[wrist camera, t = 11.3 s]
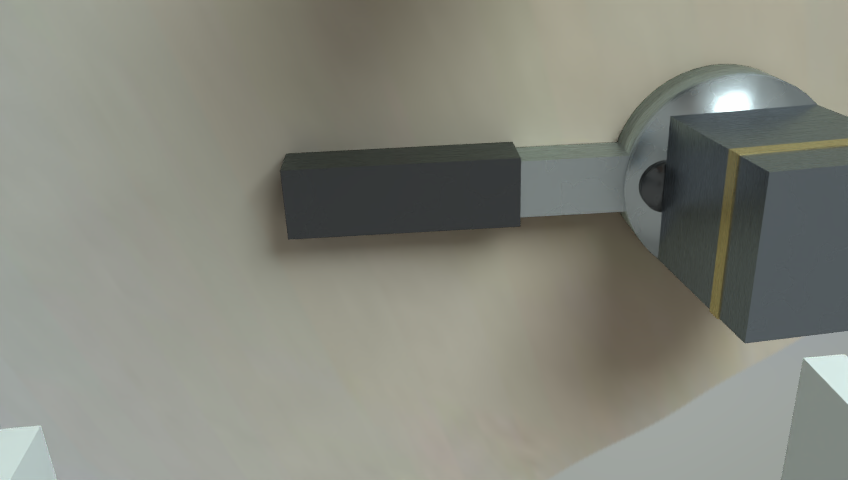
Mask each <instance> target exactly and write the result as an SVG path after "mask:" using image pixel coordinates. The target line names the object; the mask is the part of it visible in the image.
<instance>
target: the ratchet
mask: <svg viewBox="0 0 848 480" xmlns="http://www.w3.org/2000/svg"><path fill="white" fill-rule="evenodd" d="M814 104H816V103H815V102H814V101H813V100H812V99H811V98H810V97H809V96H808V95H807V94H806V93H804V92H803V91H801V90H800V89H799V88H797V87H795V86H793V85H791V84H789V83H787V82H785V81H783V80H781V79H779V78H776V77H774V76H772V75H770V74H768V73H765V72H763V71H761V70H758V69H755V68H752V67H749V66H743V65H736V64H717V65H709V66H704V67H700V68H696V69H693V70H690V71H688V72H685V73H682V74H680V75H678V76H676V77H674V78H673V79H671V80H669V81H667V82H666V83H664V84H663V85H661V86H660V87H658V88H657V89H656V90H655V91H654V92H652V93H651V94H650V95H649V96H648V97H647V98H646V99H645V100H644V101H643V102H642V103H641V104H640V105H639V106H638V107H637V108H636V110H635V111H634V113H633V114H632V115H631V117H630V118H629V120H628V121H627V123H626V125H625V127H624V128H623V130H622V132H621V135H620V137H619V140H618V142H612V143H593V144H574V145H555V146H536V147H517V148H515V146H514V144H513V142H500V143H481V144H462V145H443V146H424V147H405V148H386V149H367V150H347V151H328V152H309V153H290V154H286V156H285V159H284V162H283V165H282V167H281V170H280V173H281V181H282V190H283V198H284V207H285V216H286V224H287V233H288V239H304V238H322V237H340V236H358V235H376V234H394V233H411V232H429V231H447V230H465V229H483V228H501V227H519V226H520V217H536V216H554V215H572V214H590V213H608V212H621V215H622V216H623V218H624V219H625V221H626V222H627V224H628V225H629V226H630V228H631V229H632V230H633V232H634V233H635V234H636V236H637V237H638V238H639V240H640V241H641V242H642V244H643V245H644V246H645V247H646V248H647V249H648V250H649V251H650V252H651V253H652V254H653V255H654V256H656V257H657V258H658V250H659V239H660V228H661V216H662V205H663V194H664V182H665V171H666V160H667V149H668V137H669V126H670V116H678V115H690V114H702V113H715V112H727V111H739V110H752V109H764V108H776V107H789V106H801V105H814ZM816 105H817V104H816Z"/></svg>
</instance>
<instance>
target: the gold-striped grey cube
mask: <svg viewBox="0 0 848 480" xmlns="http://www.w3.org/2000/svg"><path fill="white" fill-rule="evenodd" d="M658 259H659V260H660V261H661V262H662V263H663V264H664V265H665V266H666V267H667V268H668V269H669V270H670V271H671V272H672V273H673V274H674V275H675V276H676V277H677V278H678V279H679V280H680V281H681V282H682V283H683V284H684V285H685V286H686V287H687V288H689V289H690V290H691V291H692V292H693V293H694V294H695V295H696V296H697V297H698V298H699V299H700V300H701V301H702V302H703V303H704V304H705V305H706V306H707V307H708V308H709V309H710V312H711V313H712V314H713V315H714V316H715V317H716V318H717V319H720V320H721V321H722V322H724V323H725V324H726V325H727V326H728V327H729V328H730V329H731V330H732V331H733V332H734V333H735V334H736V335H737V336H738V337H739V338H740V339H741V340H742V341H743V342H744V343H751V342H760V341H768V340H776V339H784V338H793V337H801V336H809V335H817V334H826V333H833V332H842V331H848V117H847V116H844V115H842V114H839V113H837V112H834V111H832V110H829V109H826V108H824V107H821V106H819V105H816V104H814V105H801V106H789V107H776V108H764V109H752V110H739V111H727V112H715V113H702V114H690V115H678V116H670V126H669V137H668V149H667V160H666V171H665V182H664V194H663V205H662V216H661V228H660V239H659V250H658Z"/></svg>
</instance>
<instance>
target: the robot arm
mask: <svg viewBox="0 0 848 480" xmlns="http://www.w3.org/2000/svg"><path fill="white" fill-rule="evenodd" d="M0 480H57V478H56V474H55V471H54V468H53V464H52V461H51V458H50V454H49V451H48V448H47V444H46V441H45V438H44V434H43V431H42V428H41V426H30V427H19V428H7V429H0ZM781 480H848V357H847V356H846V355H845V354H842V355H831V356H820V357H808V358H803V362H802V368H801V373H800V379H799V385H798V390H797V395H796V401H795V406H794V412H793V417H792V423H791V428H790V434H789V439H788V445H787V450H786V456H785V462H784V467H783V473H782V478H781Z"/></svg>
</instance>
